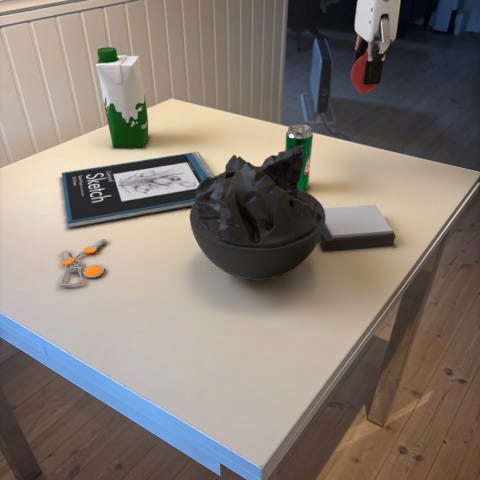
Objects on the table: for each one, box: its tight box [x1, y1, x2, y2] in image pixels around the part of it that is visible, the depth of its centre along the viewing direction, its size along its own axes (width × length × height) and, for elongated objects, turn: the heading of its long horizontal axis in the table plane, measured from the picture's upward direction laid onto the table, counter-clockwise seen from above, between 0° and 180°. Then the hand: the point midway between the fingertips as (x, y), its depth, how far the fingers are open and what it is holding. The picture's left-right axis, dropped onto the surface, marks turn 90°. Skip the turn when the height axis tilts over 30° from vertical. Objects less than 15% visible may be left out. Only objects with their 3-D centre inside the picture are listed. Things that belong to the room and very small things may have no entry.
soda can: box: [284, 123, 314, 191], centre depth 95 cm, size 5×5×12 cm
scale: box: [318, 204, 397, 252], centre depth 85 cm, size 12×10×3 cm
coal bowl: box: [189, 145, 326, 281], centre depth 72 cm, size 20×20×19 cm
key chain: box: [59, 238, 106, 287], centre depth 79 cm, size 13×7×1 cm, turn 7°
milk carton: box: [95, 46, 149, 149], centre depth 110 cm, size 9×9×20 cm
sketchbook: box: [61, 151, 216, 229], centre depth 98 cm, size 22×30×2 cm
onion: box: [349, 49, 383, 95], centre depth 92 cm, size 6×6×8 cm
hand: (365, 77), depth 93 cm, fingers closed on onion, 5 cm apart
